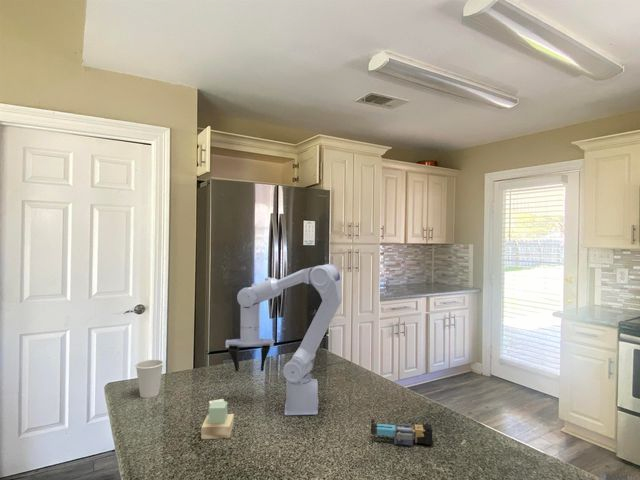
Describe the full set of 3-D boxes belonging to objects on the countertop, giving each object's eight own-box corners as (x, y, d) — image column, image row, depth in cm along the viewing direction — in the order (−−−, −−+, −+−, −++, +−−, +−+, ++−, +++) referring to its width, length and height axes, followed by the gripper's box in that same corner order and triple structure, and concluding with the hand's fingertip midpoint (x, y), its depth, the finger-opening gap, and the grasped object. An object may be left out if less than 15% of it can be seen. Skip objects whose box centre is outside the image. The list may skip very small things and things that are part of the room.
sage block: (227, 416, 102) (227, 401, 102) (224, 423, 98) (224, 408, 98) (212, 416, 102) (212, 401, 102) (208, 424, 98) (208, 408, 98)
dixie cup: (164, 388, 130) (164, 358, 130) (162, 397, 122) (162, 366, 122) (137, 390, 127) (137, 360, 127) (133, 401, 119) (133, 368, 119)
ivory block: (223, 412, 112) (223, 398, 112) (225, 418, 108) (225, 404, 108) (209, 415, 110) (209, 401, 110) (211, 421, 106) (211, 406, 106)
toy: (371, 416, 100) (431, 420, 98) (371, 433, 100) (431, 438, 98) (371, 426, 94) (434, 431, 92) (371, 445, 94) (434, 450, 92)
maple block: (233, 425, 104) (233, 413, 104) (229, 438, 97) (229, 426, 97) (207, 425, 103) (207, 414, 103) (201, 439, 96) (201, 427, 96)
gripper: (274, 323, 123) (274, 365, 123) (228, 323, 122) (228, 366, 122) (273, 328, 116) (272, 373, 116) (224, 328, 115) (224, 373, 115)
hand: (249, 370), depth 119 cm, fingers open, 7 cm apart
